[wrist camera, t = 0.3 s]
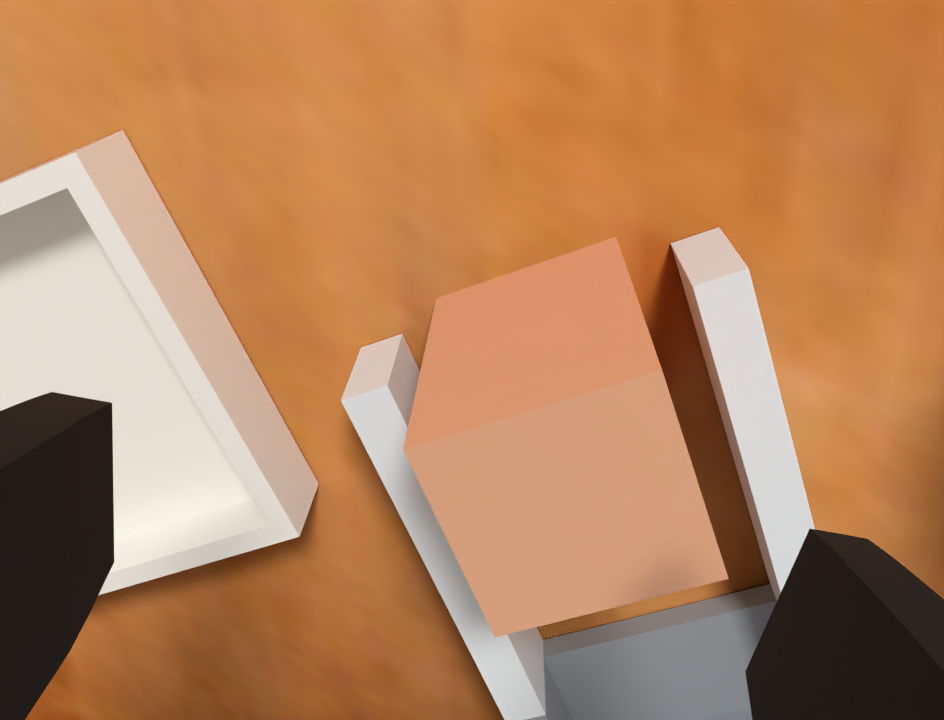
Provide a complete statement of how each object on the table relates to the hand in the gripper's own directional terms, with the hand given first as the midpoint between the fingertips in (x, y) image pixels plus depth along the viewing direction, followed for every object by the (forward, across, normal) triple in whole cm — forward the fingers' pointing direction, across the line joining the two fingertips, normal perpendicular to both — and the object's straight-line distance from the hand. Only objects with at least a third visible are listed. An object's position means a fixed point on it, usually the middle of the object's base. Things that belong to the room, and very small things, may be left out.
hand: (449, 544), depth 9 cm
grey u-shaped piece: (+10, -7, +10) cm, 16 cm away
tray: (+10, +9, +5) cm, 14 cm away
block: (+10, -2, +2) cm, 10 cm away
